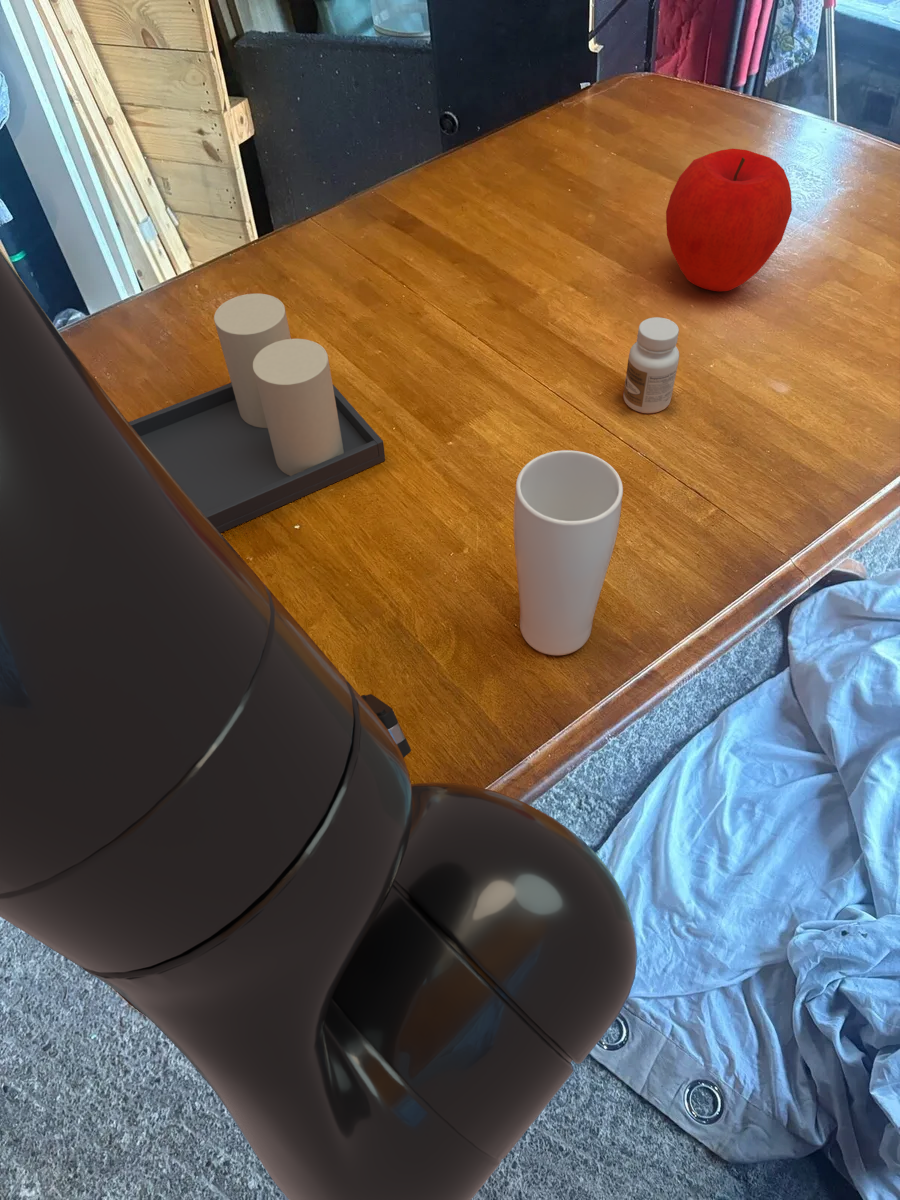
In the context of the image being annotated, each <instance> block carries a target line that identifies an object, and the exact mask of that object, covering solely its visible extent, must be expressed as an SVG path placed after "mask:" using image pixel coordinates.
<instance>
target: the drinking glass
mask: <svg viewBox="0 0 900 1200" xmlns="http://www.w3.org/2000/svg"><path fill="white" fill-rule="evenodd" d="M623 494H624V485H623V481H622V479H621V476H620V475H619V473H618V472H617V470H616V469H615V468H614V467H613V466H612V465H611V464H610V463H609V462H607V461H606V460H604V459H603V458H601V457H599V456H597V455H595V454H592V453H588V452H585V451H581V450H574V449H573V450H570V449H563V450H562V449H561V450H554V451H549V452H546V453H543V454H540V455H538V456H536V457H534V458H533V459H531V460H530V461H528V462H527V463H526V464H525V465H523V467H522V468H521V470H520V471H519V473H518V475H517V477H516V482H515V492H514V500H513V501H514V502H513V515H512V516H513V519H512V521H513V522H512V523H513V526H512V527H513V529H512V531H513V542H514V543H513V544H514V545H513V546H514V555H515V567H516V577H517V590H518V599H519V600H518V601H519V629H520V633H521V635H522V638H523V639H524V640H525V642H526V643H527V644H528V645H529V646H530V647H531V648H532V649H534V650H535V651H537V652H539V653H541V654H545V655H548V656H566V655H569V654H572V653H575V652H576V651H578V650H580V649H581V648H582V647H583V646H584V645H585V644H586V643H587V642H588V640H589V639H590V636H591V634H592V629H593V624H594V618H595V614H596V610H597V607H598V604H599V601H600V596H601V594H602V590H603V587H604V583H605V580H606V577H607V573H608V569H609V566H610V563H611V559H612V556H613V554H614V549H615V546H616V542H617V538H618V532H619V528H620V523H621V514H622V505H623Z"/></svg>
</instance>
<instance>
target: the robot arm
mask: <svg viewBox="0 0 900 1200" xmlns="http://www.w3.org/2000/svg"><path fill="white" fill-rule="evenodd" d="M129 422H130V421H128V419H127V418H126V417H125V415H124V414H123V413H122V412H121V410H119V408H118V406H117V405H116V404H115V402H114V401H113V400H112V399H111V398H110V396H109V395H108V394H107V392H106V391H105V390H104V388H103V387H102V386H101V385H100V383H99V382H98V380H96V378H95V377H94V375H93V374H92V373H91V372H90V371H89V369H88V368H87V367H86V365H85V364H84V362H83V361H82V360H81V359H80V357H79V356H78V355H77V353H76V352H75V351H74V350H73V349H72V347H71V345H70V344H69V343H68V342H67V340H66V339H65V337H64V336H63V335H62V333H61V331H59V330H58V329H57V327H56V326H55V324H54V323H53V322H52V319H50V318H49V316H48V314H46V312H45V310H44V309H43V307H41V305H40V304H39V302H38V301H37V299H36V298H35V297H34V295H33V293H32V292H31V291H30V289H29V288H28V287H27V285H26V284H25V283H24V281H23V280H22V278H21V277H20V275H19V274H18V272H17V271H16V270H15V268H14V266H13V265H12V263H11V262H10V261H9V260H8V258H7V256H6V255H5V254H4V252H3V251H2V249H1V248H0V918H1V919H3V920H5V921H6V922H8V923H9V924H11V925H13V926H15V927H16V928H17V929H19V930H21V931H22V932H24V933H25V934H27V935H28V936H30V937H32V938H33V939H35V940H37V941H38V942H40V943H41V944H43V945H45V946H46V947H48V948H49V949H50V950H52V951H54V952H55V953H57V954H58V955H60V956H62V957H64V958H65V959H67V960H68V961H69V962H71V963H73V964H75V965H76V966H77V967H79V968H81V969H82V970H83V971H85V972H87V973H88V974H90V975H92V976H93V977H95V978H96V979H98V980H99V981H101V982H102V983H104V984H106V985H107V986H109V987H110V988H111V989H113V990H114V991H115V992H117V993H118V994H119V995H120V996H122V997H123V998H125V1000H127V1001H128V1002H129V1003H130V1004H131V1005H133V1007H134V1008H136V1009H137V1010H138V1011H139V1012H140V1013H141V1014H142V1015H144V1016H145V1017H146V1018H147V1019H148V1020H150V1021H151V1022H152V1024H154V1026H156V1027H157V1029H159V1031H161V1033H162V1034H163V1035H164V1036H165V1037H166V1038H167V1039H169V1041H170V1042H171V1043H172V1044H173V1045H174V1046H175V1047H176V1048H177V1049H178V1050H179V1052H180V1053H181V1054H182V1055H183V1056H184V1057H185V1058H186V1059H187V1060H188V1061H189V1062H190V1063H191V1065H192V1066H193V1068H194V1069H195V1070H196V1071H197V1072H198V1074H200V1075H201V1077H202V1078H203V1079H204V1080H205V1082H206V1083H207V1084H208V1085H209V1086H210V1088H211V1089H212V1090H213V1092H214V1094H216V1095H217V1097H218V1099H219V1100H220V1101H221V1103H222V1104H223V1105H224V1107H225V1108H226V1109H227V1111H228V1113H229V1115H230V1116H231V1117H232V1119H233V1121H234V1123H235V1124H236V1126H237V1127H238V1129H239V1130H240V1132H241V1133H242V1136H243V1137H244V1139H245V1140H246V1141H247V1143H248V1145H249V1146H250V1148H251V1149H252V1151H253V1152H254V1154H255V1155H256V1157H257V1159H258V1160H259V1162H260V1163H261V1165H262V1166H263V1168H264V1169H265V1171H266V1172H267V1174H268V1176H269V1177H270V1178H271V1179H272V1181H273V1182H274V1184H275V1185H276V1186H277V1187H278V1189H279V1190H280V1191H281V1192H282V1193H283V1194H284V1195H285V1197H286V1198H287V1200H472V1199H473V1198H474V1197H475V1196H476V1194H477V1193H478V1192H479V1191H480V1190H481V1188H482V1187H483V1186H484V1185H485V1184H486V1182H487V1181H488V1180H489V1178H490V1177H491V1176H492V1174H493V1173H494V1172H495V1171H496V1170H497V1168H498V1167H499V1166H500V1165H501V1163H502V1160H504V1159H505V1158H506V1157H507V1156H508V1155H509V1153H510V1152H511V1151H512V1150H513V1149H514V1147H515V1146H516V1145H517V1143H518V1142H519V1141H520V1139H522V1137H523V1136H524V1135H525V1133H526V1132H527V1131H528V1129H530V1128H531V1126H532V1125H533V1123H534V1122H535V1121H536V1120H537V1119H538V1117H539V1116H540V1115H541V1113H543V1111H544V1110H545V1108H546V1107H547V1106H548V1105H549V1103H550V1102H551V1101H552V1100H553V1099H554V1097H555V1096H556V1095H557V1093H558V1092H559V1091H560V1090H561V1088H563V1086H564V1085H565V1084H566V1082H567V1081H568V1080H569V1079H570V1077H571V1076H572V1075H573V1074H574V1072H575V1066H574V1065H573V1064H572V1062H574V1063H575V1064H576V1065H581V1064H582V1063H583V1062H584V1060H585V1059H586V1058H587V1057H588V1055H590V1053H591V1052H592V1051H593V1049H594V1048H595V1047H596V1046H597V1045H598V1043H599V1042H600V1041H601V1040H602V1038H603V1037H604V1036H605V1034H606V1033H607V1032H608V1031H609V1029H610V1028H611V1026H612V1025H613V1024H614V1023H615V1022H616V1020H617V1019H618V1017H619V1016H620V1013H621V1012H622V1010H623V1008H624V1005H625V1004H626V1003H627V1001H628V999H629V997H630V995H631V991H632V988H633V985H634V983H635V979H636V975H637V974H636V973H637V966H638V965H637V964H638V945H637V935H636V929H635V925H634V921H633V917H632V913H631V910H630V907H629V904H628V902H627V899H626V897H625V895H624V893H623V891H622V889H621V886H620V884H619V883H618V881H617V879H616V878H615V877H614V875H613V873H612V872H611V871H610V869H609V868H608V866H607V865H606V864H605V863H604V861H603V860H602V859H601V858H600V856H599V855H598V854H597V853H596V852H595V851H594V850H593V849H592V848H591V846H589V845H588V844H587V843H586V842H585V841H584V840H583V839H582V838H581V837H580V836H578V835H577V834H576V833H575V832H573V831H572V830H571V829H569V828H568V827H567V826H565V825H564V824H562V823H561V822H560V821H559V820H557V819H555V818H554V817H552V816H551V815H549V814H547V813H546V812H544V811H541V810H540V809H538V808H536V807H534V806H532V805H530V804H528V803H526V802H524V801H522V800H519V799H517V798H515V797H512V796H509V795H506V794H504V793H501V792H498V791H496V790H492V789H488V788H485V787H480V786H475V785H471V784H465V783H457V782H438V781H437V782H436V781H431V782H419V783H417V782H416V783H412V781H411V777H410V773H409V769H408V765H407V763H406V761H405V759H404V758H406V757H407V756H408V755H409V754H410V753H411V752H412V748H411V746H410V744H409V742H408V739H407V738H406V735H405V733H404V731H403V728H402V727H401V725H400V724H401V723H399V720H398V719H397V716H396V714H395V711H394V709H393V708H392V707H391V706H390V705H388V704H387V703H385V702H384V701H382V700H381V699H380V698H378V697H377V696H375V695H374V694H372V693H369V694H362V695H360V693H359V692H358V691H357V690H356V689H355V688H354V687H353V686H352V684H351V683H350V682H349V681H348V680H347V679H346V677H345V676H344V675H343V674H342V673H341V672H340V671H339V669H338V668H337V667H336V665H335V664H334V663H333V662H332V661H331V659H329V658H328V655H326V654H325V652H324V651H323V650H322V649H321V648H320V646H318V644H317V643H316V642H315V641H314V639H312V638H311V637H310V635H309V634H308V633H307V632H306V631H305V629H304V628H303V626H301V625H300V623H299V622H298V621H297V620H296V619H295V618H294V616H292V614H291V613H290V612H289V611H288V610H287V608H286V607H285V606H284V605H283V604H282V603H281V601H279V599H278V598H277V597H276V595H275V594H274V593H273V592H272V591H271V589H269V587H268V586H267V585H266V584H265V582H263V580H261V578H260V577H259V575H258V574H257V573H256V572H255V571H254V570H253V568H252V567H250V565H249V564H248V563H247V562H246V561H245V560H244V558H243V557H242V556H241V555H240V554H239V553H238V551H237V550H236V549H234V547H233V546H232V545H231V543H229V542H228V540H227V539H226V538H225V537H224V536H223V534H222V533H220V532H219V531H218V530H217V529H216V528H215V527H214V525H213V524H212V523H211V522H210V521H209V520H208V519H207V517H206V516H205V515H204V514H203V513H202V512H201V511H200V509H199V508H198V507H197V506H196V505H195V503H194V502H193V501H192V500H191V499H190V497H189V496H188V495H187V494H186V492H185V491H184V490H183V489H182V487H181V486H180V485H179V484H178V483H177V481H176V480H175V479H174V478H173V476H172V475H171V474H170V473H169V472H168V470H167V469H166V468H165V467H164V465H163V464H162V463H161V462H160V461H159V459H158V458H157V457H156V456H155V454H154V453H153V452H152V451H151V450H150V448H149V447H148V446H147V445H146V443H145V442H144V441H143V440H142V438H141V437H140V436H139V435H138V434H137V432H136V431H135V430H134V429H133V427H132V426H131V425H130V424H129Z"/></svg>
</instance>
